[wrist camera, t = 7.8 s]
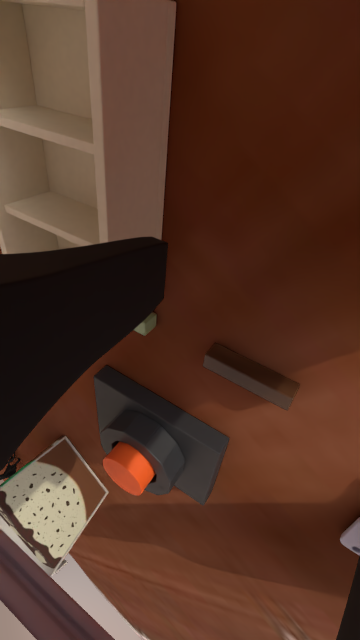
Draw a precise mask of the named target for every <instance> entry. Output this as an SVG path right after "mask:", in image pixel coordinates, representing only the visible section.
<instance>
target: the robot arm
mask: <svg viewBox="0 0 360 640" xmlns="http://www.w3.org/2000/svg"><path fill="white" fill-rule="evenodd" d="M167 250H168V243H167V242H165V241H162V240H160V239H157V238H154V237H152V236H151V237H137V238H130V239H123V240H117V241H111V242H105V243H99V244H93V245H87V246H81V247H73V248H66V249H59V250H52V251H43V252H32V253H16V254H0V470H1V469H2V468H3V467H4V465H5V464H6V463H7V461H8V460H9V459H10V457H11V456H12V455H13V453H14V452H15V451H16V450H17V448H18V447H19V446H20V444H21V443H22V442H23V441H24V439H25V438H26V437H27V436H28V435H29V433H30V432H31V431H32V430H33V429H34V427H35V426H36V425H37V424H38V422H39V421H40V420H41V419H42V418H43V416H44V415H45V414H46V413H47V412H48V411H49V410H50V409H51V407H52V406H53V405H54V404H55V403H56V402H57V401H58V400H59V398H60V397H61V396H62V395H63V394H64V393H65V392H66V391H67V390H68V389H69V388H70V387H71V386H72V384H73V383H74V382H75V381H76V380H77V379H78V378H79V377H80V376H81V375H82V374H83V373H84V372H85V371H86V370H87V369H88V368H89V367H90V366H91V365H92V364H94V363H95V362H96V361H97V360H98V359H99V358H101V357H102V356H103V355H104V354H105V353H106V352H108V351H109V350H110V349H111V348H112V347H114V346H115V345H116V344H117V343H118V342H120V341H121V340H122V339H123V338H124V337H126V336H127V335H128V334H129V333H130V332H131V331H133V330H134V329H135V328H136V327H137V326H138V325H140V324H141V323H142V322H143V321H144V320H145V319H146V318H147V317H148V316H149V315H150V314H151V313H152V311H153V310H154V309H155V308H156V307H157V306H158V304H159V303H160V302H161V301H162V300H163V298H164V289H165V276H166V263H167ZM340 542H341V543H342V544H343V545H344V546H345V547H347V548H348V549H350V550H351V551H353V552H354V553H356V554H358V555H359V556H360V517H359V518H358V519H357V520H356V521H355V522H354V523H353V524H352V525H351V526H350V527H348V528H347V529H346V530H345V531H344V532H343V533H342V534H341V537H340ZM0 600H1V601H2V602H3V603H4V605H5V606H6V607H7V608H8V609H9V610H10V611H11V612H12V613H13V614H14V615H15V617H17V619H18V620H19V621H20V622H21V623H22V624H23V625H24V626H25V627H26V628H27V630H28V631H29V632H30V633H31V634H32V635H33V636H34V637H35V638H36V639H37V640H115V639H114V638H112V636H111V635H109V634H108V633H107V632H106V631H105V630H104V629H103V628H102V627H101V626H100V625H99V624H98V623H97V622H96V621H95V620H94V619H93V618H92V617H91V616H90V615H89V614H88V613H87V612H86V611H85V610H84V609H83V608H82V607H81V606H79V604H78V603H76V601H74V600H73V599H72V598H71V597H70V596H69V595H68V594H67V593H66V592H65V591H64V590H63V589H62V588H61V587H60V586H59V585H58V584H57V583H56V582H55V581H54V580H53V579H52V578H51V577H50V576H49V575H48V574H47V573H46V572H45V571H44V570H43V569H42V568H41V567H40V566H38V565H37V564H36V563H35V562H34V561H33V560H32V559H31V558H30V557H29V556H28V555H27V554H26V553H25V552H24V551H23V550H22V549H21V548H20V547H19V546H18V545H17V544H16V543H15V542H14V541H13V540H12V539H11V538H10V537H9V536H8V535H7V534H6V533H5V532H3V531H2V530H1V529H0ZM336 640H360V557H359V560H358V564H357V568H356V572H355V575H354V579H353V583H352V587H351V590H350V594H349V597H348V601H347V604H346V608H345V611H344V615H343V618H342V622H341V625H340V629H339V632H338V635H337V639H336Z"/></svg>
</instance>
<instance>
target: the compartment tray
mask: <svg viewBox="0 0 360 640" xmlns="http://www.w3.org/2000/svg"><path fill="white" fill-rule="evenodd" d="M175 18H176V2H175V1H171V0H0V247H1V250H2V254H16V253H32V252H43V251H52V250H59V249H66V248H73V247H81V246H87V245H93V244H99V243H105V242H111V241H117V240H123V239H130V238H137V237H151V236H152V237H154V238H157V239H160V240H161V239H162V223H163V207H164V191H165V176H166V160H167V144H168V128H169V113H170V97H171V81H172V66H173V50H174V34H175Z"/></svg>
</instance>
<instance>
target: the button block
mask: <svg viewBox="0 0 360 640" xmlns="http://www.w3.org/2000/svg"><path fill="white" fill-rule="evenodd" d="M94 385H95V394H96V404H97V413H98V423H99V432H100V439H101V445H102V447H103V449H104V451H105V452H106V454H107V455H108V454H109V453H110V452H111V450H112V449H113V448H114V447H115V446H116V445H117V444H118V442H123V443H127V444H129V445H130V446H132V447H133V448H135V449H136V450H138V451H139V452H140V453H141V454H142V455H143V456H144V457H145V458H146V459H147V460H148V461H149V462H150V463H151V465H152V467H153V469H154V471H155V473H156V474H155V476H154V477H153V478H152V480H151V481H150V482H149V484H148V485H147V487H146V488H145V489H144V490H146V491H148V492H151V493H153V494H156V495H162V494H168V493H169V492H170V490H171V489H172V487H173V486H176V487H177V488H178V489H180V490H181V491H183V492H184V493H186V494H187V495H189V496H190V497H191V498H193V499H194V500H196V501H197V502H199V503H200V504H201V505H204V504H205V502H206V500H207V499H208V497H209V495H210V493H211V492H212V489H213V486H214V483H215V480H216V477H217V474H218V471H219V468H220V465H221V462H222V459H223V457H224V454H225V451H226V448H227V445H228V442H229V438H228V437H227V436H225V435H223V434H222V433H220V432H218V431H217V430H215V429H213V428H212V427H210V426H208V425H206V424H205V423H203V422H201V421H200V420H198V419H196V418H195V417H193V416H191V415H190V414H188V413H186V412H185V411H183V410H181V409H180V408H178V407H176V406H175V405H173V404H171V403H169V402H168V401H166V400H164V399H163V398H161V397H159V396H158V395H156V394H154V393H153V392H151V391H149V390H148V389H146V388H144V387H143V386H141V385H139V384H138V383H136V382H134V381H132V380H131V379H129V378H127V377H126V376H124V375H122V374H121V373H119V372H117V371H116V370H114V369H112V368H111V367H109V366H107V365H106V366H105V367H104V368H103V369H101V370H100V371H99V372H98V373H97V374H96V375H94Z"/></svg>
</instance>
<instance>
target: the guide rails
mask: <svg viewBox="0 0 360 640" xmlns="http://www.w3.org/2000/svg"><path fill="white" fill-rule="evenodd" d="M156 318H157V314H155V313H153V312H152V313H151V314H150V315H149V316H148V317H147V318H146V319H145V320H144V321H143V322H142V323H141V324H140V325H138V326H137V327H136V328H135V329H134V331H136V332H138V333H140V334H142V335H144V336H145V335H146V334H148V333H149V332H150V331H151V330H152V329H153V328H154V327H155V326H156ZM203 367H205V368H207V369H209V370H211V371H213V372H214V373H216V374H218V375H220V376H222V377H224V378H226V379H228V380H230V381H232V382H233V383H235V384H237V385H239V386H241V387H243V388H245V389H247V390H249V391H251V392H252V393H254V394H256V395H258V396H260V397H262V398H264V399H266V400H268V401H270V402H271V403H273V404H275V405H277V406H279V407H281V408H283V409H285V410H288V409H289V407H290V405H291V403H292V401H293V399H294V397H295V395H296V393H297V391H298V389H299V386H300V384H298V383H296V382H294V381H292V380H290V379H288V378H286V377H284V376H282V375H280V374H278V373H276V372H274V371H272V370H270V369H268V368H266V367H264V366H261V365H259V364H257V363H255V362H253V361H251V360H249V359H247V358H245V357H243V356H241V355H239V354H237V353H235V352H233V351H231V350H229V349H227V348H225V347H223V346H221V345H219V344H217V343H215V344H214V345H213V346H212V347H211V348H210V349H209V351H208V352H207V353H206V354H205V358H204V363H203Z"/></svg>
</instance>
